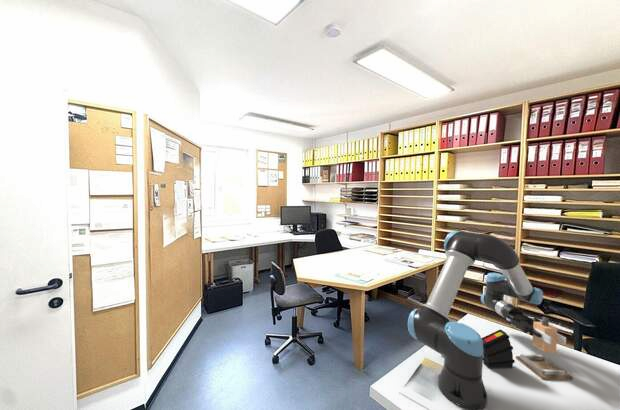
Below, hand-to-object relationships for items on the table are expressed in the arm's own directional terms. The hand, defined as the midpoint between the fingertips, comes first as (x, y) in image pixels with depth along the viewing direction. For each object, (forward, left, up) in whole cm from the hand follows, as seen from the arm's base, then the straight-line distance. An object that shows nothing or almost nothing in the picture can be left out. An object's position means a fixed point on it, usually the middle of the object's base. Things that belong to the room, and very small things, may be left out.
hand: (557, 340), depth 94 cm
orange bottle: (0, +5, -6) cm, 8 cm away
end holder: (0, +5, -15) cm, 16 cm away
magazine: (-19, +6, -15) cm, 25 cm away
